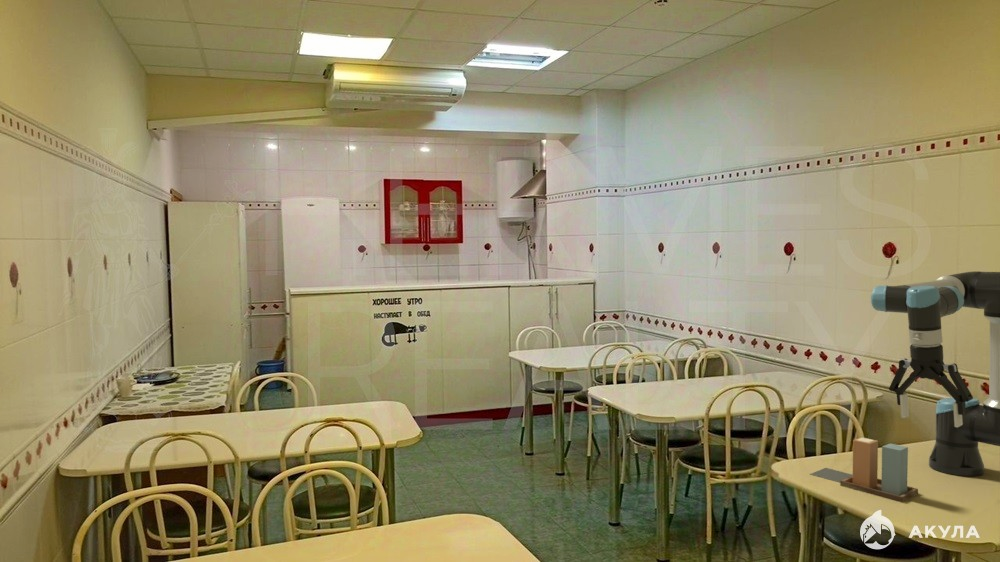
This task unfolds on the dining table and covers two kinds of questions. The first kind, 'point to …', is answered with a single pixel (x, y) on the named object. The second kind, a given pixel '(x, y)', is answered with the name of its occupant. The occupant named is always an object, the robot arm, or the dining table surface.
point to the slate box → (894, 469)
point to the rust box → (865, 462)
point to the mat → (831, 474)
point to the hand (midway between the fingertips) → (931, 421)
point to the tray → (879, 490)
